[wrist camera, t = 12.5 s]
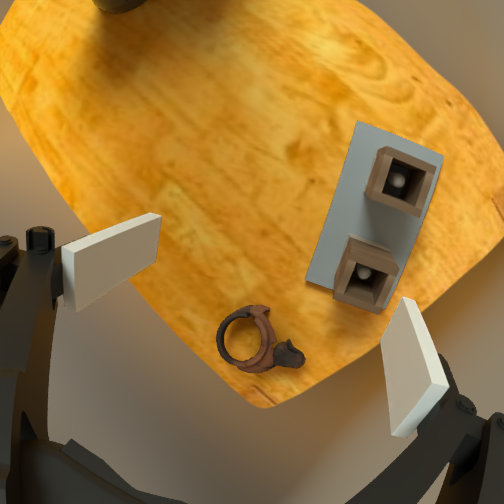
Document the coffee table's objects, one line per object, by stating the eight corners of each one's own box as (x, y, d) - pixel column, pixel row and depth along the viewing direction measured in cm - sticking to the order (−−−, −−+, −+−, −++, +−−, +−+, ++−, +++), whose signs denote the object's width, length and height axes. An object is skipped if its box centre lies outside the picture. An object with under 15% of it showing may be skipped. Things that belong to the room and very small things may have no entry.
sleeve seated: (376, 149, 31) (387, 145, 24) (416, 165, 30) (436, 166, 23) (363, 191, 33) (370, 198, 26) (402, 206, 32) (419, 218, 25)
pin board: (356, 121, 32) (360, 112, 26) (441, 156, 30) (461, 155, 24) (305, 276, 39) (298, 298, 33) (384, 304, 37) (390, 331, 31)
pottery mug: (234, 359, 46) (203, 363, 39) (248, 300, 48) (219, 295, 40) (306, 382, 41) (286, 394, 33) (323, 318, 42) (306, 317, 35)
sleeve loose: (349, 232, 35) (351, 251, 27) (387, 247, 34) (399, 269, 27) (334, 271, 37) (332, 298, 29) (372, 284, 36) (378, 314, 28)
